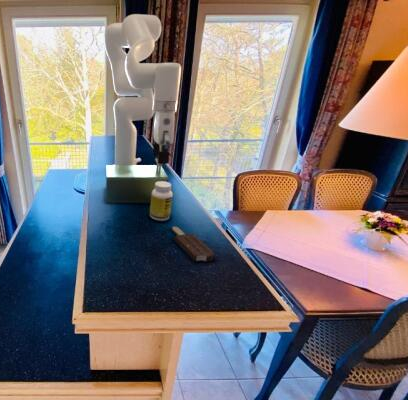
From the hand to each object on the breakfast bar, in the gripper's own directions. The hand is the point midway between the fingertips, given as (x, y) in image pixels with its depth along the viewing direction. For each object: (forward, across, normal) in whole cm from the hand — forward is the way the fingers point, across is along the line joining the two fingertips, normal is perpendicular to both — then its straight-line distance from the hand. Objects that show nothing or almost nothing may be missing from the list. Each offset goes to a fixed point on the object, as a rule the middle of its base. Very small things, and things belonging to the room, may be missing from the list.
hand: (159, 159), depth 91 cm
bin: (+14, 0, +9) cm, 16 cm away
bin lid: (+5, 0, +8) cm, 10 cm away
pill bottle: (+14, -15, +2) cm, 21 cm away
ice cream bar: (+15, -30, -3) cm, 34 cm away
